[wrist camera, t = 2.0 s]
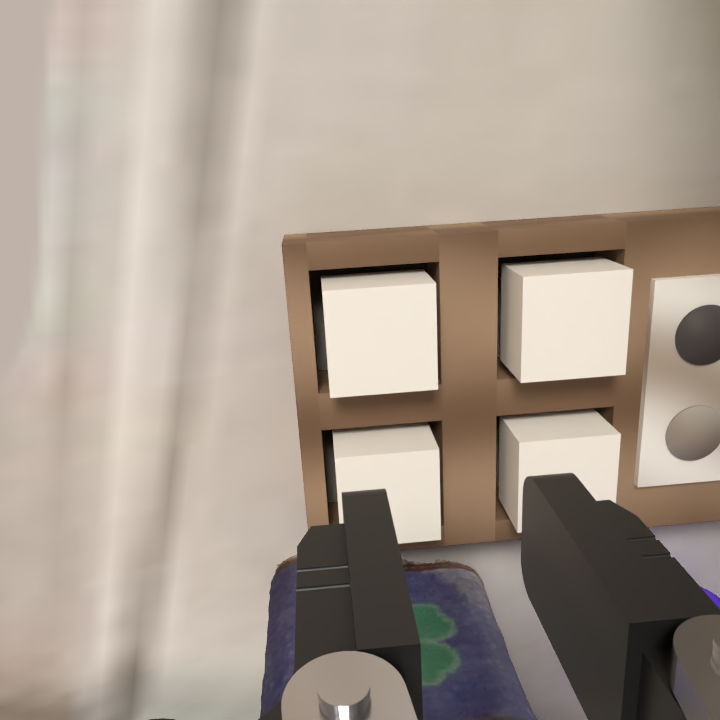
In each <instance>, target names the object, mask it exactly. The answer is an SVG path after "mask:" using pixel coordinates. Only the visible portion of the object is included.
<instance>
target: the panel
mask: <svg viewBox="0 0 720 720" xmlns="http://www.w3.org/2000/svg"><path fill="white" fill-rule="evenodd" d="M587 251H594V257H603V258H606V259H608V260H611V261H613V262H616V263H619V264H621V265H624V266H626V267H629V268H632V269H633V282H632V295H631V308H630V321H629V335H628V348H627V361H626V374H625V375H616V376H604V377H591V378H578V379H566V380H553V381H540V382H528V383H520V382H519V380H518V379H517V378H516V377H515V376H514V375H513V374H512V373H511V371H510V370H509V369H508V368H507V367H506V366H505V365H504V364H503V362H502V361H501V360H500V357H497V315H498V258H500V257H514V256H529V255H543V254H558V253H573V252H587ZM282 254H283V264H284V275H285V286H286V297H287V308H288V319H289V329H290V340H291V351H292V362H293V373H294V383H295V394H296V405H297V416H298V427H299V438H300V448H301V459H302V470H303V481H304V492H305V503H306V513H307V524H308V530H309V529H310V527H311V526H319V525H330V524H339V513H338V501H336V502H328V497H327V485H326V472H325V460H324V447H323V435H322V430H331V429H343V428H356V427H368V426H380V425H392V424H405V423H417V422H429V421H431V431H432V434H433V436H434V438H435V441H436V443H437V445H438V448H439V459H440V510H441V540H434V541H423V542H412V543H401V544H398V545H399V550H404V549H415V548H426V547H437V546H448V545H459V544H470V543H481V542H492V541H502V540H513V539H522V532H521V533H517V531H516V529H515V527H514V526H513V524H512V522H511V520H510V518H509V516H508V514H507V513H506V511H505V509H504V507H503V505H502V503H501V501H500V500H499V487H496V416H503V415H515V414H527V413H539V412H552V411H564V410H576V409H588V408H593V409H594V410H596V411H597V412H598V413H599V414H600V415H601V416H602V417H603V418H604V419H605V420H606V421H607V422H608V423H610V424H611V425H612V426H613V427H614V428H615V429H616V430H617V431H618V432H619V433H620V434H621V441H620V454H619V467H618V481H617V494H616V504H618V505H619V506H621V507H623V508H625V509H626V510H628V511H630V512H631V513H633V514H635V515H637V516H638V517H639V518H640V520H641V521H642V522H643V523H644V524H645V525H646V526H647V527H655V526H666V525H677V524H687V523H698V522H709V521H720V207H704V208H689V209H674V210H659V211H644V212H628V213H613V214H598V215H583V216H567V217H552V218H537V219H522V220H506V221H491V222H476V223H461V224H446V225H430V226H415V227H400V228H385V229H369V230H354V231H339V232H324V233H308V234H293V235H284V238H283V242H282ZM412 263H427V274H428V275H429V276H430V277H431V278H432V279H433V280H434V281H435V283H436V305H437V357H438V390H426V391H414V392H401V393H389V394H376V395H363V396H351V397H338V398H330V390H329V379H328V370H324V371H317V360H316V348H315V335H314V323H313V310H312V298H311V285H310V273H309V271H310V270H325V269H339V268H354V267H369V266H383V265H398V264H412Z"/></svg>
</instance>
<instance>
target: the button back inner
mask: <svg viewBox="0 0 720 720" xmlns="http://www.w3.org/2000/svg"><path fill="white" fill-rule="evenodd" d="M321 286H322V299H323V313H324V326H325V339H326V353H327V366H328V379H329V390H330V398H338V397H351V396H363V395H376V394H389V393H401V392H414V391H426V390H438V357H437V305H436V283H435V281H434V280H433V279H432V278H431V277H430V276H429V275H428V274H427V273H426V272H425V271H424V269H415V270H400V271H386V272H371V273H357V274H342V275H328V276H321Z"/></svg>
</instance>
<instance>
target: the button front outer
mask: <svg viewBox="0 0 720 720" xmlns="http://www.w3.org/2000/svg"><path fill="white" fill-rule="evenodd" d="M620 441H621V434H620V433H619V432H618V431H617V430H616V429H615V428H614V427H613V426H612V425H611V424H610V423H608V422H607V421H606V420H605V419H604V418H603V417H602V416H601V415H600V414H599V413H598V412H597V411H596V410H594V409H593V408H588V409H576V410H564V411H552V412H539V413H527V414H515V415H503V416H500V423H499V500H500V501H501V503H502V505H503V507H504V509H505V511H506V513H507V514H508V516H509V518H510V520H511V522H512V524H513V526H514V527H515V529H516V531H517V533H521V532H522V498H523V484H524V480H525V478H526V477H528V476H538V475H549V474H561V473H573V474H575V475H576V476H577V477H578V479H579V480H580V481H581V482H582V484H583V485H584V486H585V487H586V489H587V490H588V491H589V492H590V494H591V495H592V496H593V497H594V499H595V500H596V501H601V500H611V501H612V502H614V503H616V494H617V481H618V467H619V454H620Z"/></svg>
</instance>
